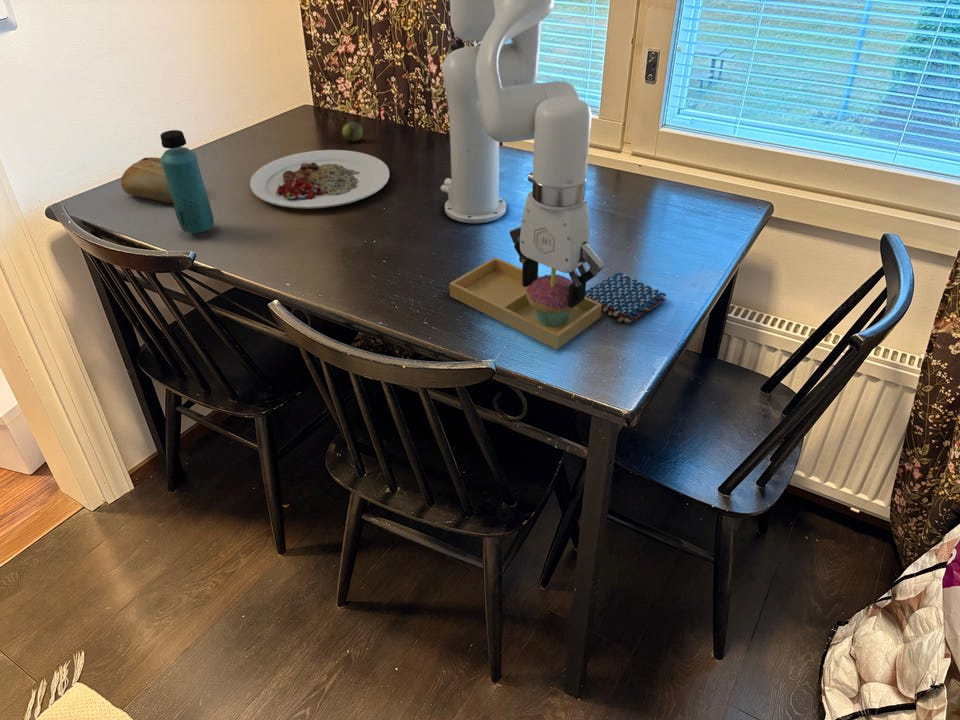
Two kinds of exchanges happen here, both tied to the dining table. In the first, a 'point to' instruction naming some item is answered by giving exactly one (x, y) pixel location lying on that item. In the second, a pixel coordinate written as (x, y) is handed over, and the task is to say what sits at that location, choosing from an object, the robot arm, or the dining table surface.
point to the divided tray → (518, 303)
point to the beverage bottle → (185, 184)
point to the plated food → (319, 179)
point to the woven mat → (625, 297)
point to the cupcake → (550, 298)
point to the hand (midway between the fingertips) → (552, 293)
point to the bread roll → (147, 180)
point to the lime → (352, 131)
